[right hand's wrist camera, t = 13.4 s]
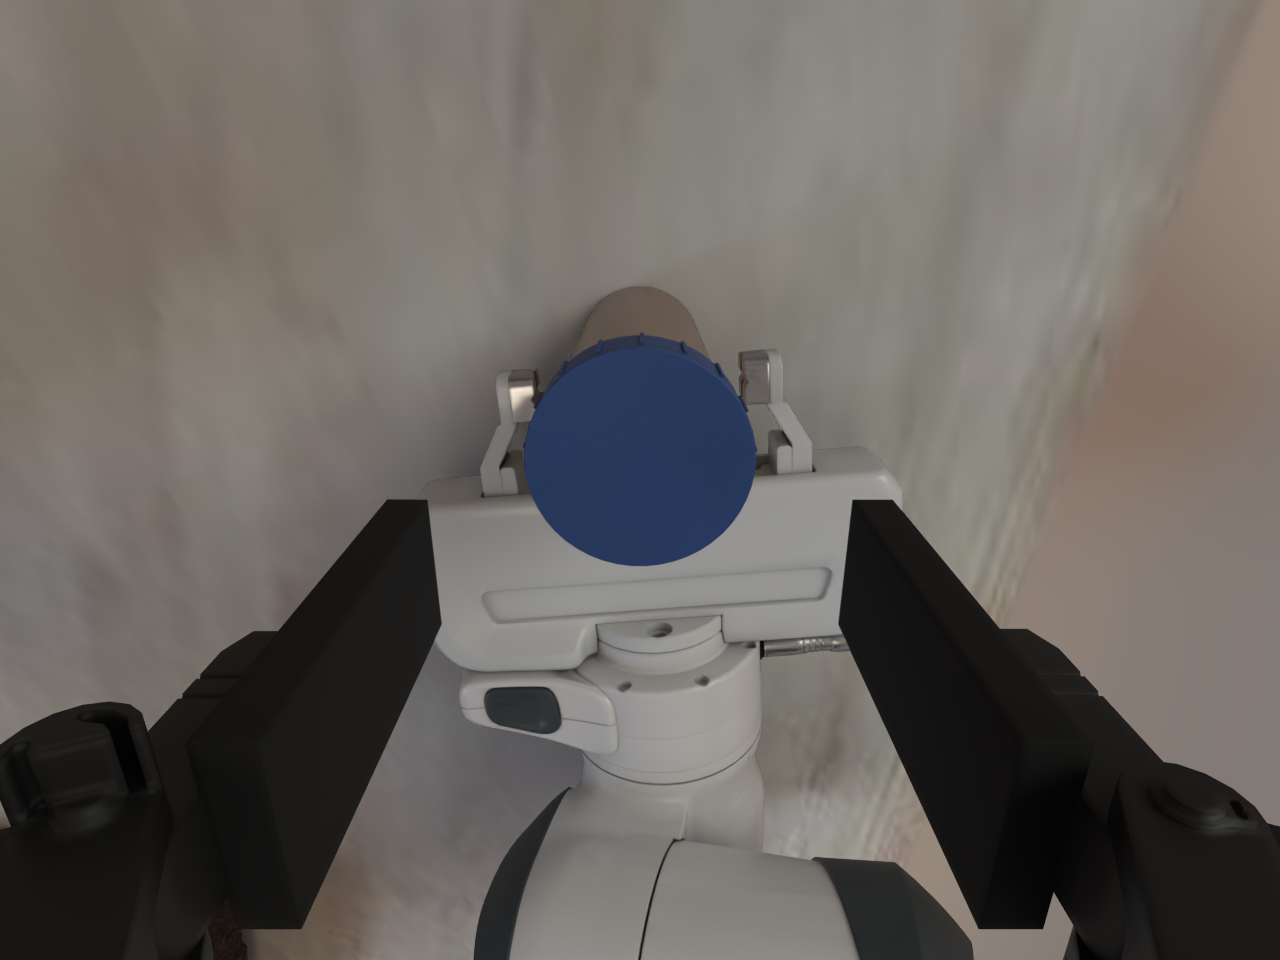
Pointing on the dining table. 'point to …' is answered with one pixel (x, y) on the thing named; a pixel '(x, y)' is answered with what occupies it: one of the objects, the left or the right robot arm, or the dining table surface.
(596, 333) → the jar
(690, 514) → the lid
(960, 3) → the dining table surface
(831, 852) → the dining table surface
